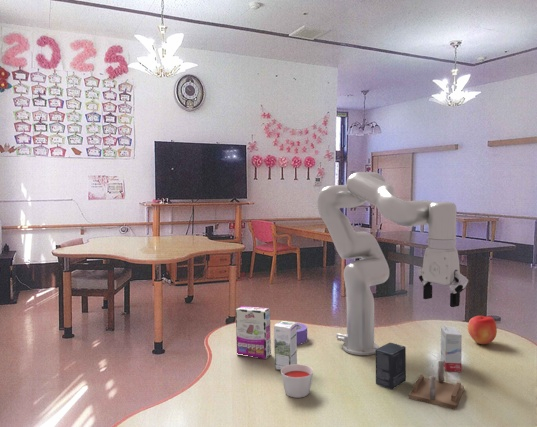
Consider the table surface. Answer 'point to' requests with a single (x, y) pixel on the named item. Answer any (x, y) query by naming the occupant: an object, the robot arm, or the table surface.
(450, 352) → the ink box
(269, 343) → the candy bar box
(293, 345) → the syrup box
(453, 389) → the cradle
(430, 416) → the table surface
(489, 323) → the apple
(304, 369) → the candle
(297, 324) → the tape roll
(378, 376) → the box
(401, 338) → the table surface
